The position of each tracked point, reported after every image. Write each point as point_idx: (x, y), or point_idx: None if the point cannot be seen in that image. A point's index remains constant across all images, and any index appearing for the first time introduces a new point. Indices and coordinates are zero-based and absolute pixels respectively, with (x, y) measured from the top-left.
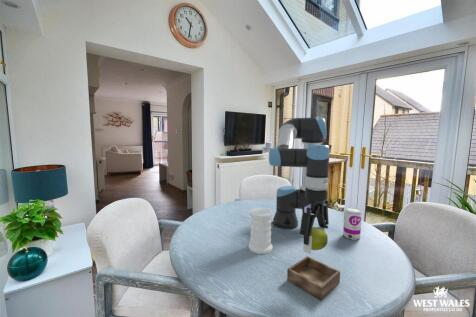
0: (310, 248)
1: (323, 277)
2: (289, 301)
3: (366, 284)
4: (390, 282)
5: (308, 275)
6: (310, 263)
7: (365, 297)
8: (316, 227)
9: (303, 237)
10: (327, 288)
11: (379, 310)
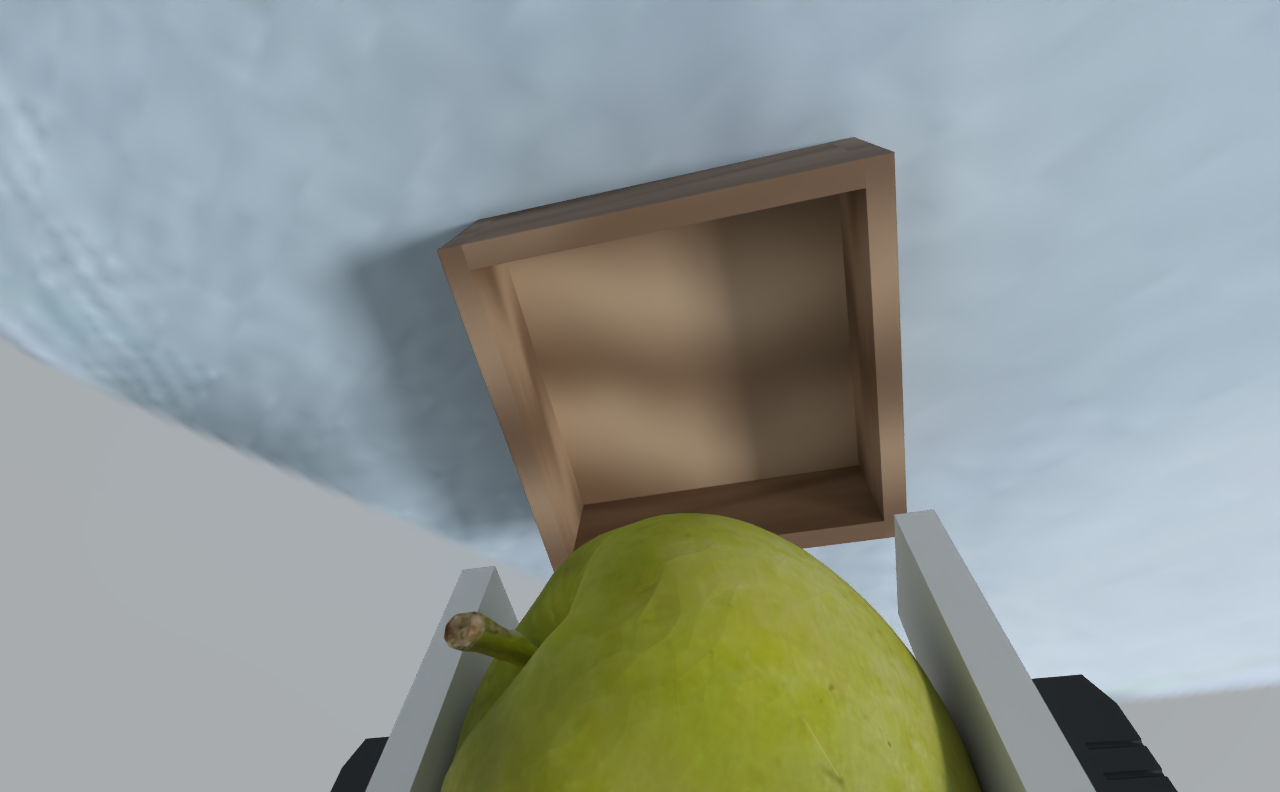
0: None
1: (800, 387)
2: (356, 416)
3: (1027, 566)
4: (1197, 629)
5: (698, 300)
6: (850, 214)
7: None
8: None
9: (490, 656)
10: None
11: None
